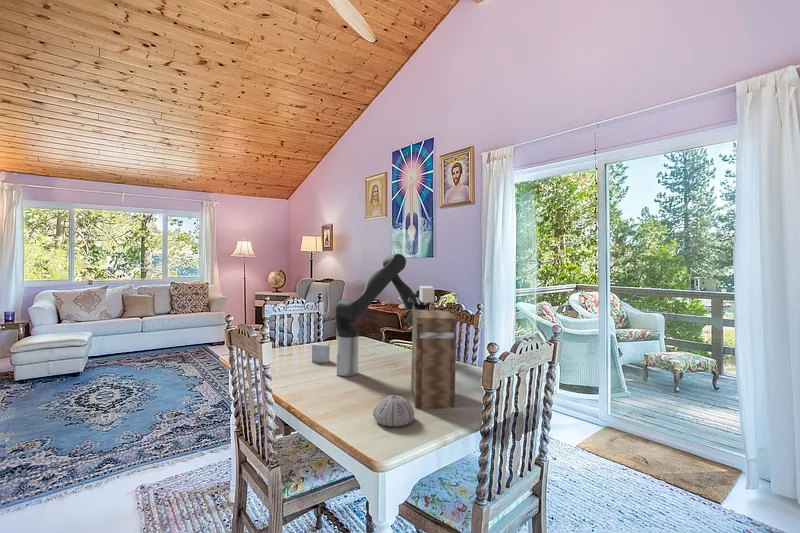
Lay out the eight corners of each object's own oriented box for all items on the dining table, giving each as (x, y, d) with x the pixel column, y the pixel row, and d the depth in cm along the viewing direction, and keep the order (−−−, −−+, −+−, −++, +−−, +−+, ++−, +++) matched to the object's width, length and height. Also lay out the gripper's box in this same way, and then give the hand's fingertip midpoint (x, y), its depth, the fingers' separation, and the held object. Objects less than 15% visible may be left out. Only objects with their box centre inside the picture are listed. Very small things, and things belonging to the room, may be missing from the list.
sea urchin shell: (416, 429, 122) (417, 404, 122) (372, 430, 121) (373, 404, 121) (412, 412, 135) (412, 389, 135) (372, 413, 134) (373, 389, 134)
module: (422, 302, 164) (422, 288, 164) (417, 297, 185) (417, 284, 185) (434, 302, 164) (434, 288, 164) (427, 297, 185) (428, 284, 185)
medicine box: (329, 360, 199) (329, 343, 199) (327, 363, 194) (327, 345, 194) (314, 360, 200) (314, 343, 199) (311, 362, 195) (311, 345, 195)
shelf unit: (415, 409, 138) (417, 318, 137) (410, 389, 158) (412, 310, 157) (455, 409, 138) (457, 318, 138) (445, 389, 159) (447, 310, 158)
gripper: (405, 299, 197) (408, 284, 182) (434, 299, 197) (439, 284, 182) (406, 313, 193) (408, 299, 178) (434, 313, 194) (439, 299, 179)
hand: (424, 291), depth 180 cm, fingers closed on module, 4 cm apart
